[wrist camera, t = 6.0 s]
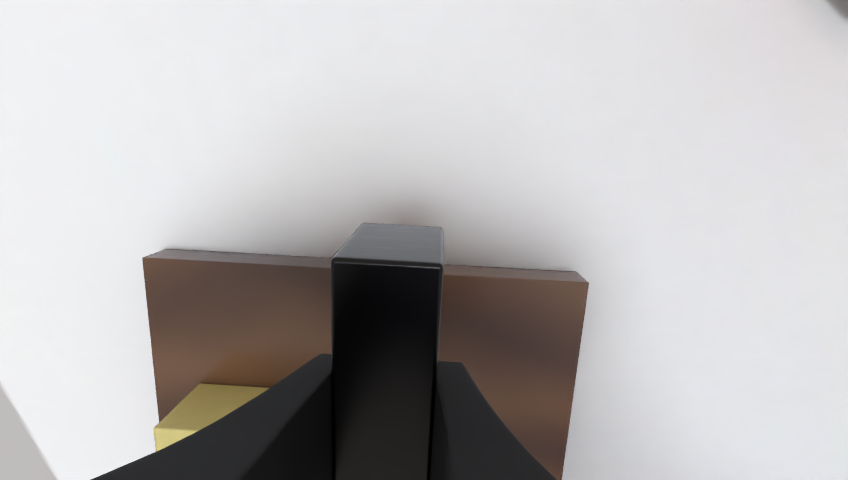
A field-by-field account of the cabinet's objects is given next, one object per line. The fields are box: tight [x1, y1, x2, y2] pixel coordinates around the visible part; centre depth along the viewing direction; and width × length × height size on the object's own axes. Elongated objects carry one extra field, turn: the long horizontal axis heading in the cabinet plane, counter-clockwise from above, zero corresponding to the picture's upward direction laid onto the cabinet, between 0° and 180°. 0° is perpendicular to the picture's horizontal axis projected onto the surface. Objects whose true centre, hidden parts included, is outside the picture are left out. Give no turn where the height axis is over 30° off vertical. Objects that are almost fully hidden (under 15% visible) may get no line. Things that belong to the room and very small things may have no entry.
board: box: [143, 249, 589, 480], centre depth 19 cm, size 14×18×2 cm
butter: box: [154, 383, 269, 452], centre depth 17 cm, size 5×6×3 cm
